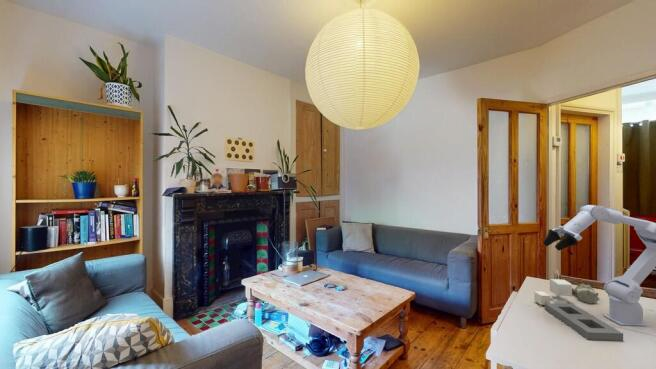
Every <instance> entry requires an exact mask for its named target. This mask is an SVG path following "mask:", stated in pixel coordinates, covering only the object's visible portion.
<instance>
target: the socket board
mask: <svg viewBox="0 0 656 369" xmlns="http://www.w3.org/2000/svg"><path fill="white" fill-rule="evenodd" d="M544 310H545V311H546V312H548V313H549V314H550V315H552V316H553V317H554V318H557V320H559V321H560V320H561V321H560V322H562V323H563V322H564V323H563V324H565V325H566V324H567V325H566V326H568V327H569V328H570V327H571V329H572V330H573V331H575V332H576V333H578V334H579V335H580V336H581V337H583V338H584V339H586V340H587V341H600V342H601V341H604V342H605V341H607V342H624V333H623V332H622V331H620V330H618V329H616V328H615V327H613V326H611V325H609V324H608V323H606V322H604V321H602V320H601V319H599V318H597V317H596V316H594V315H593V314H591V313H589V312H588V311H586V310H584V309H582V308H581V307H579V306H577V305H575V303H568V304H564V303H555V302H553V303H552V302H550V303H545V305H544Z"/></svg>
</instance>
